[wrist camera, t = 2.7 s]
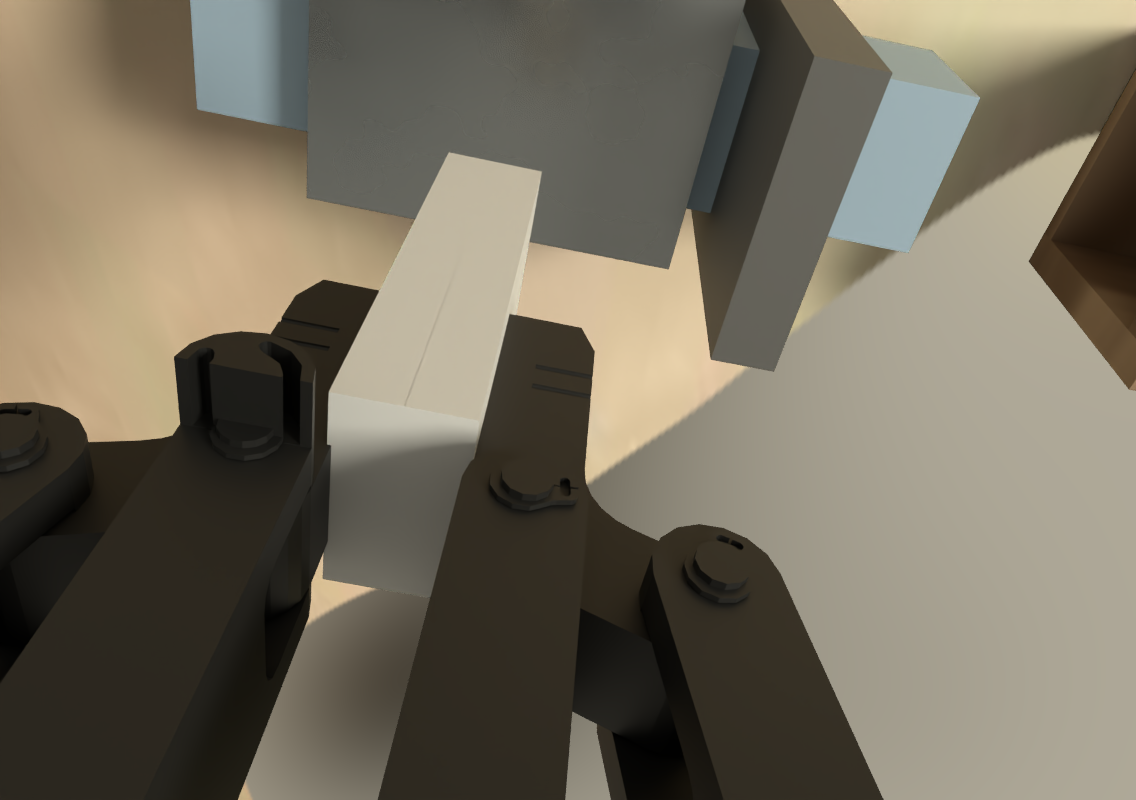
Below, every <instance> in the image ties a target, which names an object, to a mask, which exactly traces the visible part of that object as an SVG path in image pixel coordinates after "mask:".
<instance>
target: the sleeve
mask: <svg viewBox="0 0 1136 800" xmlns="http://www.w3.org/2000/svg"><path fill="white" fill-rule="evenodd" d="M745 1H746V0H309V47H308V139H307V198H310V199H315V200H320V201H325V202H330V203H335V204H340V205H345V206H350V207H355V208H360V209H365V210H371V211H376V212H381V213H386V214H391V215H396V216H401V217H406V218H411V219H416V217H417V215H418V213H419V211H420V209H421V207H422V205H423V203H424V201H425V199H426V197H427V195H428V193H429V191H430V189H431V187H432V185H433V183H434V181H435V179H436V177H437V175H438V173H439V171H440V169H441V167H442V165H443V163H444V161H445V159H446V157H447V155H448V153H449V152H450V153H455V154H459V155H464V156H469V157H474V158H479V159H484V160H488V161H493V162H498V163H503V164H508V165H513V166H517V167H522V168H527V169H532V170H537V171H542V174H541V179H540V185H539V191H538V196H537V202H536V208H535V213H534V219H533V225H532V230H531V236H530V241H529V242H533V243H538V244H543V245H548V246H553V247H558V248H563V249H568V250H573V251H578V252H583V253H589V254H594V255H599V256H604V257H609V258H614V259H619V260H624V261H629V262H634V263H639V264H644V265H649V266H654V267H659V268H665V269H669V266H670V263H671V259H672V256H673V252H674V249H675V245H676V242H677V238H678V235H679V231H680V228H681V224H682V221H683V217H684V214H685V211H686V207H687V204H688V200H689V197H690V193H691V190H692V186H693V183H694V179H695V176H696V172H697V169H698V165H699V162H700V158H701V155H702V151H703V148H704V144H705V141H706V137H707V134H708V130H709V127H710V123H711V120H712V116H713V113H714V109H715V106H716V102H717V99H718V95H719V92H720V88H721V85H722V81H723V78H724V74H725V71H726V67H727V64H728V61H729V57H730V54H731V50H732V47H733V43H734V40H735V36H736V33H737V29H738V26H739V22H740V19H741V15H742V12H743V8H744V5H745Z"/></svg>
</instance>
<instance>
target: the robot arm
mask: <svg viewBox="0 0 1136 800" xmlns="http://www.w3.org/2000/svg"><path fill="white" fill-rule="evenodd" d="M541 174H542V171H537V170H532V169H527V168H522V167H517V166H513V165H508V164H503V163H498V162H493V161H488V160H484V159H479V158H474V157H469V156H464V155H459V154H455V153H450V152H449V153H448V155H447V157H446V159H445V161H444V163H443V165H442V167H441V169H440V171H439V173H438V175H437V177H436V179H435V181H434V183H433V185H432V187H431V189H430V191H429V193H428V195H427V197H426V199H425V201H424V203H423V205H422V207H421V209H420V211H419V213H418V215H417V217H416V219H415V221H414V223H413V225H412V227H411V229H410V231H409V233H408V235H407V237H406V239H405V241H404V243H403V245H402V247H401V249H400V251H399V253H398V255H397V257H396V259H395V261H394V263H393V265H392V267H391V269H390V271H389V273H388V275H387V277H386V279H385V281H384V283H383V285H382V287H381V289H380V291H378V290H373V289H368V288H363V287H358V286H353V285H348V284H343V283H338V282H333V281H328V280H322V281H321V282H319V283H317V284H315V285H314V286H312V287H310V288H308V289H307V290H305V291H303V292H301V293H300V294H298V295H296V296H295V298H294V299H293V301H292V302H291V304H290V305H289V307H288V308H287V310H286V312H285V313H284V315H283V316H282V320H281V322H278V324H277V325H276V327H275V328H274V330H273V331H272V333H271V334H266V333H254V332H242V331H240V332H232V333H224V334H216V335H212V336H209V337H207V338H204V339H201V340H199V341H196V342H193V343H191V344H189V345H188V346H187V347H186V348H184V349H183V350H182V351H181V352H179V353H178V354H177V355H176V356H174V361H175V372H176V382H177V393H178V403H179V414H180V425H179V427H178V428H177V430H176V431H175V433H174V434H173V436H169V437H165V438H161V439H151V440H141V441H115V442H88V439H87V434H86V432H85V430H84V428H83V426H82V424H81V423H80V421H79V419H78V418H76V417H75V416H73V415H71V414H70V413H68V412H66V411H65V410H63V409H61V408H58V407H54V406H49V405H45V404H40V403H35V402H28V403H2V404H0V800H238V798H239V795H240V792H241V790H242V787H243V785H244V782H245V780H246V777H247V774H248V772H249V769H250V767H251V764H252V762H253V759H254V756H255V754H256V751H257V748H258V746H259V744H260V741H261V738H262V736H263V733H264V731H265V728H266V726H267V723H268V720H269V718H270V715H271V713H272V710H273V707H274V705H275V702H276V700H277V697H278V695H279V692H280V690H281V687H282V684H283V682H284V679H285V677H286V674H287V672H288V669H289V666H290V664H291V661H292V658H293V656H294V653H295V651H296V648H297V646H298V643H299V641H300V638H301V636H302V633H303V630H304V628H305V625H306V623H307V620H308V618H309V611H310V603H311V582H312V579H313V577H314V574H315V572H316V569H317V567H318V564H319V562H320V559H321V557H322V554H323V552H324V555H323V579H327V580H332V581H338V582H343V583H349V584H354V585H360V586H365V587H371V588H376V589H382V590H388V591H394V592H399V593H404V594H410V595H416V596H421V597H427V598H430V601H429V605H428V608H427V612H426V616H425V620H424V624H423V628H422V632H421V635H420V639H419V643H418V647H417V651H416V655H415V659H414V662H413V666H412V670H411V674H410V678H409V682H408V685H407V689H406V693H405V697H404V701H403V705H402V708H401V712H400V716H399V720H398V724H397V728H396V732H395V735H394V739H393V743H392V747H391V751H390V755H389V759H388V763H387V766H386V770H385V774H384V778H383V782H382V786H381V789H380V793H379V797H378V800H565V794H566V782H567V770H568V757H569V744H570V732H571V718H572V711H573V712H575V713H577V714H578V715H580V716H582V717H584V718H586V719H588V720H590V721H592V722H594V723H596V724H597V735H598V739H599V744H600V749H601V754H602V758H603V763H604V768H605V773H606V777H607V782H608V787H609V792H610V797H611V800H883V798H882V796H881V793H880V791H879V789H878V787H877V785H876V782H875V780H874V778H873V776H872V774H871V772H870V769H869V767H868V765H867V763H866V760H865V758H864V756H863V754H862V752H861V749H860V747H859V746H858V743H857V741H856V739H855V736H854V734H853V732H852V730H851V728H850V726H849V723H848V721H847V719H846V717H845V714H844V712H843V710H842V708H841V706H840V703H839V701H838V699H837V697H836V695H835V692H834V690H833V688H832V686H831V684H830V682H829V679H828V677H827V675H826V673H825V671H824V668H823V666H822V664H821V662H820V660H819V657H818V655H817V653H816V651H815V649H814V647H813V644H812V642H811V640H810V638H809V636H808V633H807V631H806V629H805V627H804V625H803V622H802V620H801V618H800V616H799V614H798V611H797V610H796V607H795V605H794V603H793V600H792V598H791V596H790V594H789V592H788V589H787V587H786V585H785V583H784V581H783V578H782V576H781V574H780V573H779V571H778V570H777V568H776V567H775V566H774V564H773V562H772V561H771V560H770V558H769V557H768V555H767V554H766V553H765V552H763V551H762V550H761V549H759V548H758V547H757V546H756V545H755V544H753V543H752V542H751V541H750V540H748V539H747V538H745V537H742V536H740V535H738V534H735V533H733V532H731V531H729V530H726V529H724V528H719V527H713V526H707V525H700V524H698V525H691V526H684V527H678V528H676V529H674V530H672V531H671V532H669V533H668V534H666V535H665V536H663V537H661V538H660V540H659V541H657V540H655V539H653V538H650V537H648V536H646V535H644V534H641V533H639V532H637V531H635V530H632V529H631V528H629V527H627V526H625V525H624V524H622V523H620V522H618V521H616V520H615V519H614V518H612V517H611V516H610V515H609V514H608V513H606V512H605V511H604V510H603V509H601V507H600V506H599V505H598V503H597V502H596V501H595V500H594V499H593V497H592V496H591V494H590V492H589V489H588V487H587V484H586V480H585V459H586V447H587V435H588V423H589V412H590V400H591V399H590V396H591V388H592V376H593V364H594V352H595V351H594V350H593V348H592V346H591V344H590V343H589V341H588V339H587V337H586V335H585V334H584V332H583V330H582V328H579V327H574V326H569V325H563V324H558V323H553V322H548V321H543V320H538V319H533V318H528V317H523V316H518V315H517V309H518V304H519V298H520V292H521V287H522V281H523V275H524V270H525V264H526V258H527V253H528V247H529V241H530V236H531V230H532V225H533V219H534V213H535V208H536V202H537V196H538V191H539V185H540V179H541Z"/></svg>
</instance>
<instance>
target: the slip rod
mask: <svg viewBox="0 0 1136 800" xmlns="http://www.w3.org/2000/svg"><path fill="white" fill-rule="evenodd" d="M190 6H191V22H192V37H193V53H194V68H195V84H196V100H197V110H202V111H207V112H212V113H217V114H222V115H227V116H232V117H237V118H242V119H246V120H251V121H256V122H261V123H266V124H271V125H276V126H281V127H286V128H291V129H296V130H301V131H306V132H308V47H309V0H190ZM979 100H980V97H979V96H978V95H977V94H976V93H975V92H974V91H973V90H972V89H971V88H970V87H969V86H968V85H967V84H966V83H965V82H964V81H963V80H962V79H961V78H960V77H959V76H958V75H957V74H956V73H955V72H953V71H952V70H951V69H950V68H949V67H948V66H947V65H946V64H945V63H944V62H943V61H942V60H941V59H940V58H939V57H938V56H937V55H936V54H935V53H934V52H933V51H931V50H927V49H922V48H917V47H913V46H908V45H904V44H899V43H894V42H890V41H885V40H881V39H876V38H871V37H867V36H862V35H861V34H860V32H859V31H858V30H857V29H856V28H855V26H854V25H853V24H852V23H851V21H850V20H849V19H848V18H847V17H846V15H845V14H844V13H843V12H842V10H841V9H840V8H839V7H838V6H837V4H836V3H835V2H834V1H833V0H746V1H745V5H744V8H743V12H742V15H741V19H740V22H739V26H738V29H737V33H736V36H735V40H734V43H733V47H732V50H731V54H730V57H729V61H728V64H727V67H726V71H725V74H724V78H723V81H722V85H721V88H720V92H719V95H718V99H717V102H716V106H715V109H714V113H713V116H712V120H711V123H710V127H709V130H708V134H707V137H706V141H705V144H704V148H703V151H702V155H701V158H700V162H699V165H698V169H697V172H696V176H695V179H694V183H693V186H692V190H691V193H690V197H689V200H688V204H687V207H686V208H687V209H691V210H692V218H693V226H694V233H695V241H696V249H697V257H698V264H699V272H700V280H701V288H702V295H703V303H704V311H705V319H706V326H707V334H708V342H709V350H710V357H711V360H716V361H721V362H726V363H732V364H737V365H742V366H747V367H753V368H758V369H763V370H768V371H774V370H775V368H776V365H777V363H778V360H779V357H780V355H781V352H782V350H783V347H784V345H785V342H786V340H787V337H788V335H789V332H790V330H791V327H792V325H793V322H794V320H795V317H796V315H797V312H798V310H799V307H800V305H801V302H802V300H803V297H804V295H805V292H806V290H807V287H808V285H809V282H810V280H811V277H812V275H813V272H814V270H815V267H816V264H817V262H818V259H819V257H820V254H821V252H822V249H823V247H824V244H825V242H826V239H827V237H831V238H836V239H841V240H846V241H851V242H856V243H861V244H866V245H871V246H876V247H881V248H886V249H890V250H895V251H900V252H905V253H909V251H910V249H911V246H912V244H913V242H914V240H915V238H916V236H917V234H918V231H919V229H920V227H921V225H922V223H923V221H924V218H925V216H926V214H927V212H928V210H929V208H930V205H931V203H932V201H933V199H934V197H935V195H936V192H937V190H938V188H939V186H940V184H941V182H942V180H943V177H944V175H945V173H946V171H947V169H948V167H949V164H950V162H951V160H952V158H953V156H954V154H955V151H956V149H957V147H958V145H959V143H960V141H961V139H962V136H963V134H964V132H965V130H966V128H967V126H968V123H969V121H970V119H971V117H972V115H973V113H974V110H975V108H976V106H977V104H978V102H979Z"/></svg>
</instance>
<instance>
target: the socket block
mask: <svg viewBox="0 0 1136 800" xmlns="http://www.w3.org/2000/svg"><path fill="white" fill-rule="evenodd" d="M1029 262H1030V264H1031V265H1032V266H1033V267H1034V269H1035V270H1036V271H1037V273H1038V274H1039V275H1040V276H1041V278H1042V279H1043V280H1044V282H1045V283H1046V284H1047V285H1048V287H1049V288H1050V289H1051V290H1052V292H1053V293H1054V294H1055V296H1056V297H1057V298H1058V299H1059V301H1060V302H1061V303H1062V304H1063V306H1064V307H1065V308H1066V310H1067V311H1068V312H1069V313H1070V315H1071V316H1072V317H1073V319H1074V320H1075V321H1076V322H1077V324H1078V325H1079V326H1080V327H1081V329H1082V330H1083V331H1084V333H1085V334H1086V335H1087V336H1088V338H1089V339H1090V340H1091V341H1092V343H1093V344H1094V345H1095V347H1096V348H1097V349H1098V350H1099V352H1100V353H1101V354H1102V356H1103V357H1104V358H1105V359H1106V361H1107V362H1108V363H1109V364H1110V366H1111V367H1112V368H1113V369H1114V371H1115V372H1116V373H1117V375H1118V376H1119V377H1120V379H1121V380H1122V381H1123V382H1124V384H1125V385H1126V386H1127V387H1128V389H1129V390H1135V391H1136V70H1135V72H1134V73H1133V75H1132V77H1131V79H1130V81H1129V82H1128V84H1127V86H1126V88H1125V90H1124V91H1123V93H1122V95H1121V97H1120V99H1119V100H1118V102H1117V104H1116V106H1115V107H1114V109H1113V111H1112V113H1111V115H1110V116H1109V118H1108V120H1107V122H1106V124H1105V125H1104V127H1103V129H1102V131H1101V133H1100V134H1099V136H1098V138H1097V140H1096V142H1095V143H1094V145H1093V147H1092V149H1091V151H1090V152H1089V154H1088V156H1087V158H1086V160H1085V162H1084V163H1083V165H1082V167H1081V169H1080V170H1079V172H1078V174H1077V176H1076V178H1075V179H1074V181H1073V183H1072V185H1071V186H1070V188H1069V190H1068V192H1067V194H1066V195H1065V197H1064V199H1063V201H1062V203H1061V204H1060V206H1059V208H1058V210H1057V212H1056V214H1055V215H1054V217H1053V219H1052V221H1051V222H1050V224H1049V226H1048V228H1047V230H1046V231H1045V233H1044V235H1043V237H1042V239H1041V240H1040V242H1039V244H1038V246H1037V248H1036V249H1035V251H1034V253H1033V255H1032V257H1031V258H1030V260H1029Z"/></svg>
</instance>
